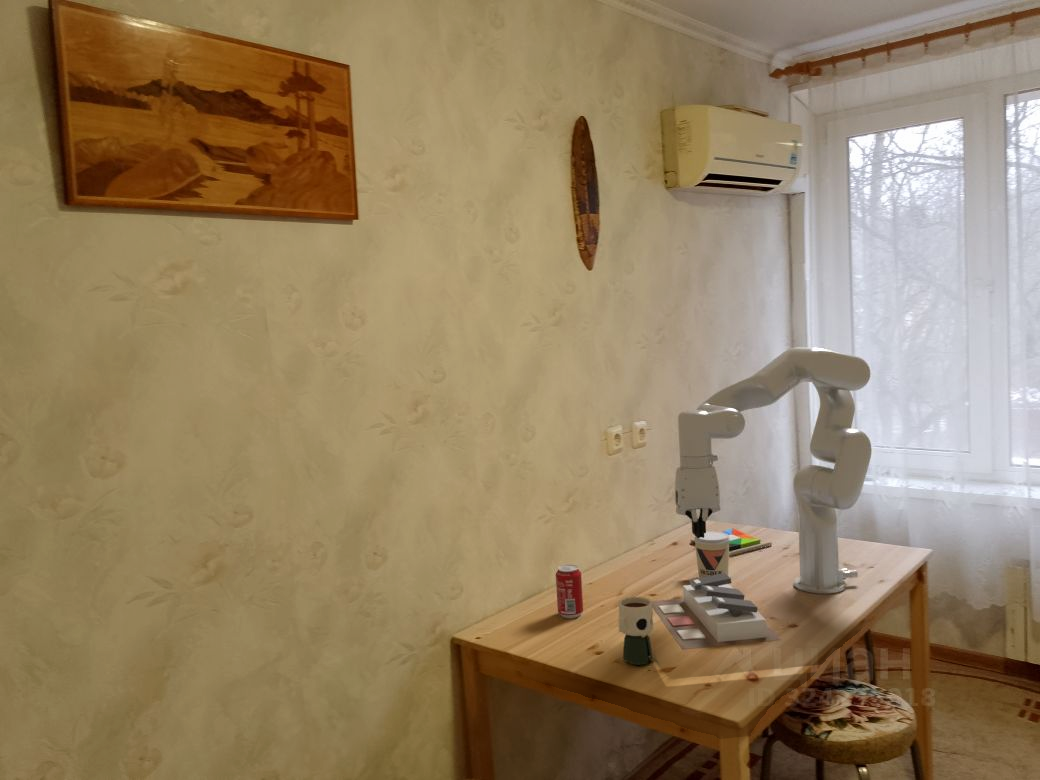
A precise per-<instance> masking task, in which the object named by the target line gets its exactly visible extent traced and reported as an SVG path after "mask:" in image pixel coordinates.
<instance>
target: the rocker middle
mask: <svg viewBox="0 0 1040 780" xmlns="http://www.w3.org/2000/svg"><path fill="white" fill-rule="evenodd" d="M701 591H702V592H703V593H704V594H705V595H706V596H716V597H724V598H732V599H741V600H744V599H745V596H746V595H745V594H744V593H743V592H742V591H740V589H739V588H734V587H732V588H725V587H716V586H708V585H701Z"/></svg>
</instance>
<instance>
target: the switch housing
mask: <svg viewBox="0 0 1040 780" xmlns="http://www.w3.org/2000/svg"><path fill="white" fill-rule="evenodd" d="M682 586H683V587H682V588H683V598H684V602H685V603H686V604H687V606H688V607H689V608H690V609H691V610H692V612H693V613H694V614H695V615H696V616H697V618H698V619H699V620H700V621H701V622H702V624H703V625H704V626H705V627H706V628H707V630H708V631H709V632H710V633H711V634H712V636H713V637H714V638H715V639H716V640H717V642H723V641H733V640H744V639H754V638H765V637H767V632H766V625H767V619H766V618H765V617H764V616H763V615H762V613H760V612H759V611H757V613H755V612H747V611H742V613H741V615H740V616H737V617H735V616H733V615H732V614H731V613H730V612H729V611H728V610H727V609H722V608H717V607H716V606H715V605H714V604H713V602H712V601H711V600H712V596H706V595H705V594H704V593H703V592H702V591H701V590H695V589H694V588H693V587H692V586H691V585H690V584H685V585H682ZM718 587H725V588H733V587H732V586H731V585H730V584H725V585H720V586H718ZM744 600H746V599H745V598H744Z"/></svg>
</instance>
